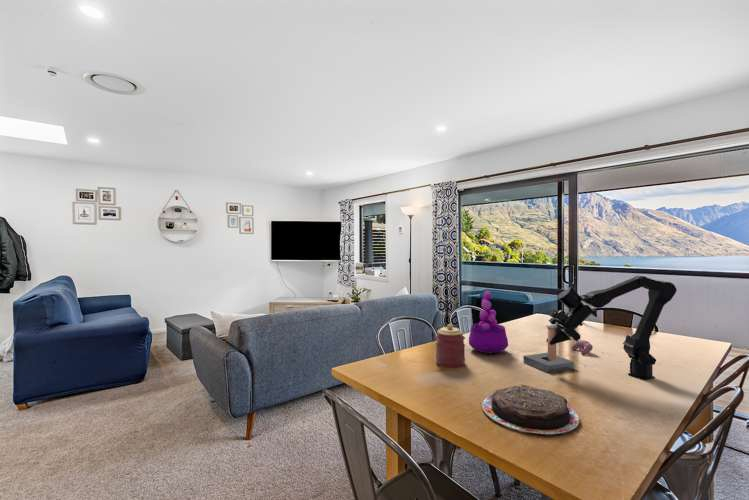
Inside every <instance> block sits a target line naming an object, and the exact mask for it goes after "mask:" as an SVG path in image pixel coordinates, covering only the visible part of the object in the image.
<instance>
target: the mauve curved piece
mask: <svg viewBox="0 0 749 500" xmlns="http://www.w3.org/2000/svg"><path fill="white" fill-rule="evenodd" d="M593 348H594V347H593V345H592V343H590V342H589V341H587V340H584V339H579V340H578V341H577V342H576V341H575V343H574V344H572V346H571V350H573V351H576V350H578V351H579V352H580V354H581V355H582V356H586V355H588V354H589V353H590V352H592V350H593Z"/></svg>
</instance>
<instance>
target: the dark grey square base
mask: <svg viewBox="0 0 749 500" xmlns="http://www.w3.org/2000/svg"><path fill="white" fill-rule="evenodd" d="M523 363H524V364H526V365H528V366H530V367H534V368H536V369H537V370H540V371H542V372H544V373H547V374H550V373H558V372H563V371H569V370H574V369H575V361H573V360H570V359H567V358H564V357H562V356H559V355H557V360H549V359H548V352H542V353H536V354H535V353H534V354H529V355H528V354H527V355H523Z"/></svg>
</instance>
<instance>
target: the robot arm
mask: <svg viewBox="0 0 749 500" xmlns="http://www.w3.org/2000/svg"><path fill="white" fill-rule="evenodd" d="M640 288H642V289H643V288H644V289H646V290H648V292H647V295H648V302H647V303H646V305H645V306H646V307H645V309H644V311H643V314H642V316H641V318H640V321H639V323H638V325H637V327H636V330H635V332H634V333H633V334H632V335H628V334H626V336H625V340H624V342H623V343H622V345H623V350H624V352H625V353H626V354H627V356H628V358H629V359H630V362H629V373H627V375H629V376H630V377H634V378H637V379H639V380H643V381H647V380H652V379H656V376H655V375H654V374H653V366H654V365H656V362H657V359H656V358H655V357H654V356H653V355H652V354H651V353H650V350H651V341H650V338H651V336H652V334H653V331H654V329H655V327H656V325H657V322H658V320H659V317H660V316H661V314H662V312H663V309H664V306H665V305H666V304H668V303H669V302H670V301H671V300H673V298H674V296H675V295H676V293H677V287H676V286H675V284H674V283H672V282H671V281H670V282H669V281H664V280H663V281H662V280H656V279H652V278H649V277H647V276H643V275H635V276H633V277H632V278H628V279H627V280H625V281H622V282H620V283H617V284H615V285H612V286H610V287H607V288H603V289H597V290H593V291H589V292H587V293H586V294H582V295H579V293H577V292H576V290H575V289H574V288H573V287H570V286H569V287H568V288H567V289H564V290H563V291H561V292H560V293H559V294H558V295H557V299H558V300H559V301H560V302H561V303H562V304H563V305H564V306H565V307H567V309H571V311H569V312H568V311H564V310H561V309H560V310H556V309H555V308H551V309H550V311H549V313H548V316H549V317H550V319H549V320H548V322H549V324H555V325H557V328H556V335H555V336H554V337H553V338H552V340H551V341H550V342H549V344H550V345H553V344H556V345H557V344H560V343H562V342H567V341H571V340H572V339H573V341H575V343H576V342H577V341H579V340H581V334H580V333H579V332H578V331H577V330H576V328H578V327H582V326H583V325H584V324H583V322H584V321H586V320H587V319H588V318H589V317H590V316H592V317H595V318H598V313H597V312H598V310H597V309H601V308H603V307H605V306H607V305H608V304H610V303H611V302H612V301H613V300H614V299H615V298H619V297H621V296H623V295H626V294H628V293H630V292H633V291H636V290H638V289H640ZM592 307H593V308H592ZM594 308H596V309H594ZM545 342H546V343H548V337H547V338H546V340H545Z"/></svg>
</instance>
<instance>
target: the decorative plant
mask: <svg viewBox="0 0 749 500" xmlns="http://www.w3.org/2000/svg"><path fill="white" fill-rule="evenodd" d="M491 298H492V293H491V292H490V291H488V290H487V291H484V294H483V298H482V299H481V308H482V310H480V312H479V319H480V321H479V322H478V323H473V324H472V325H471V326H470V332H469V336H468V344H469V346H470V347H471V348H472V349H473V350H476V351H479V352H481V353H487V354H495V353H500V352H504V351H505V350H506V349H507V347H508V346H509V340H508V337H507V332H506V327H505V326H504V325H502V324H498V321H497V319H496V316H497V312H496V310H494V309H491V308H492V302H491V301H490V299H491Z"/></svg>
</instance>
